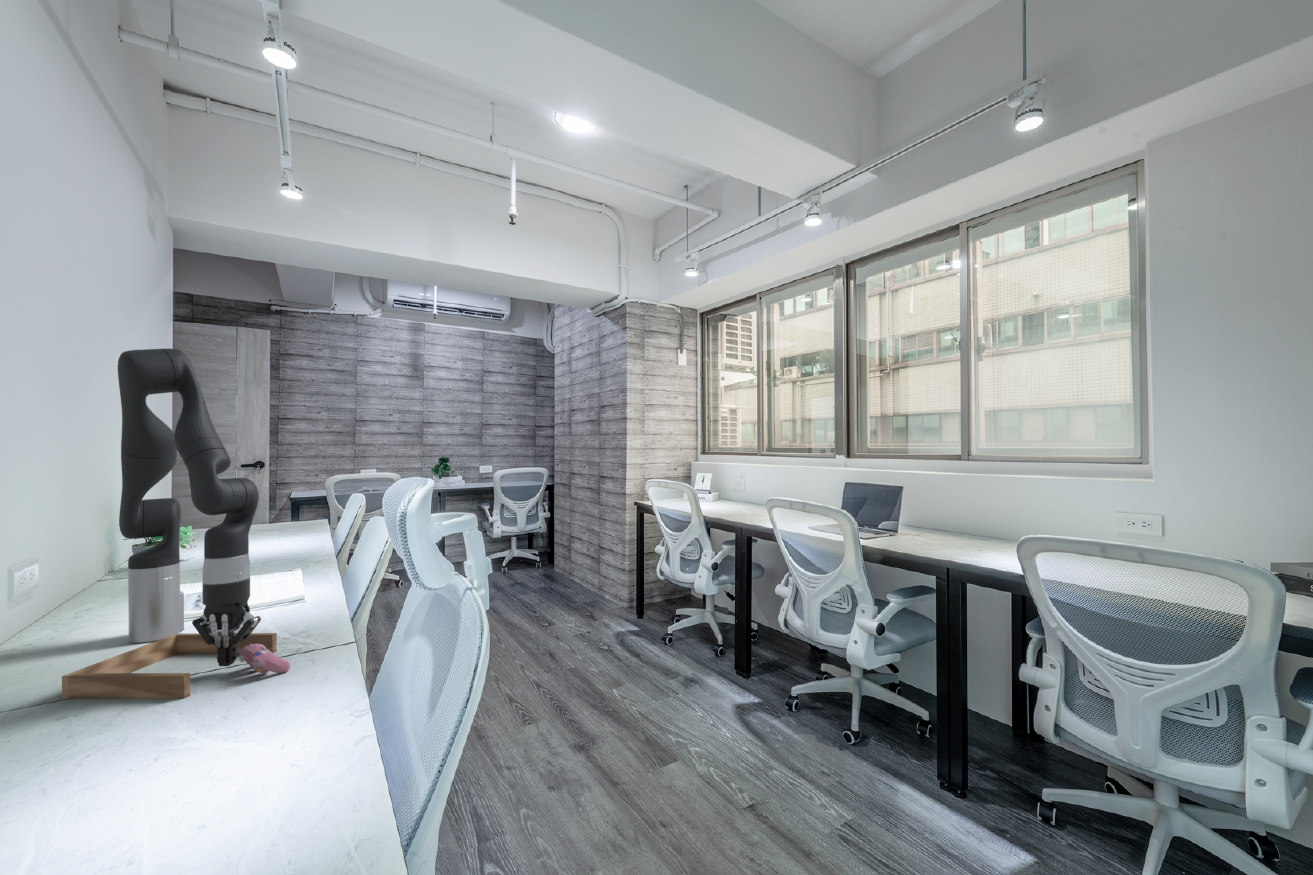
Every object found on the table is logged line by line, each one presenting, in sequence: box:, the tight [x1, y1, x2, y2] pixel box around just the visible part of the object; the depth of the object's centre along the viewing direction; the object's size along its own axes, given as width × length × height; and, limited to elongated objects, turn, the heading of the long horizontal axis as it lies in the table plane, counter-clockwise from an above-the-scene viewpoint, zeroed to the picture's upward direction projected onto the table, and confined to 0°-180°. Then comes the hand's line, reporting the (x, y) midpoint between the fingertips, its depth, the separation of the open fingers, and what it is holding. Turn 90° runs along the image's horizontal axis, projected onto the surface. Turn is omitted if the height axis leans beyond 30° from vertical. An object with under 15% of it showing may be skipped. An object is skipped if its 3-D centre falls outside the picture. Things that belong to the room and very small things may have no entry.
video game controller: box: [238, 644, 291, 675], centre depth 109 cm, size 10×5×7 cm, turn 59°
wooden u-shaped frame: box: [61, 632, 278, 699], centre depth 110 cm, size 22×23×4 cm
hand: (226, 664), depth 109 cm, fingers closed
